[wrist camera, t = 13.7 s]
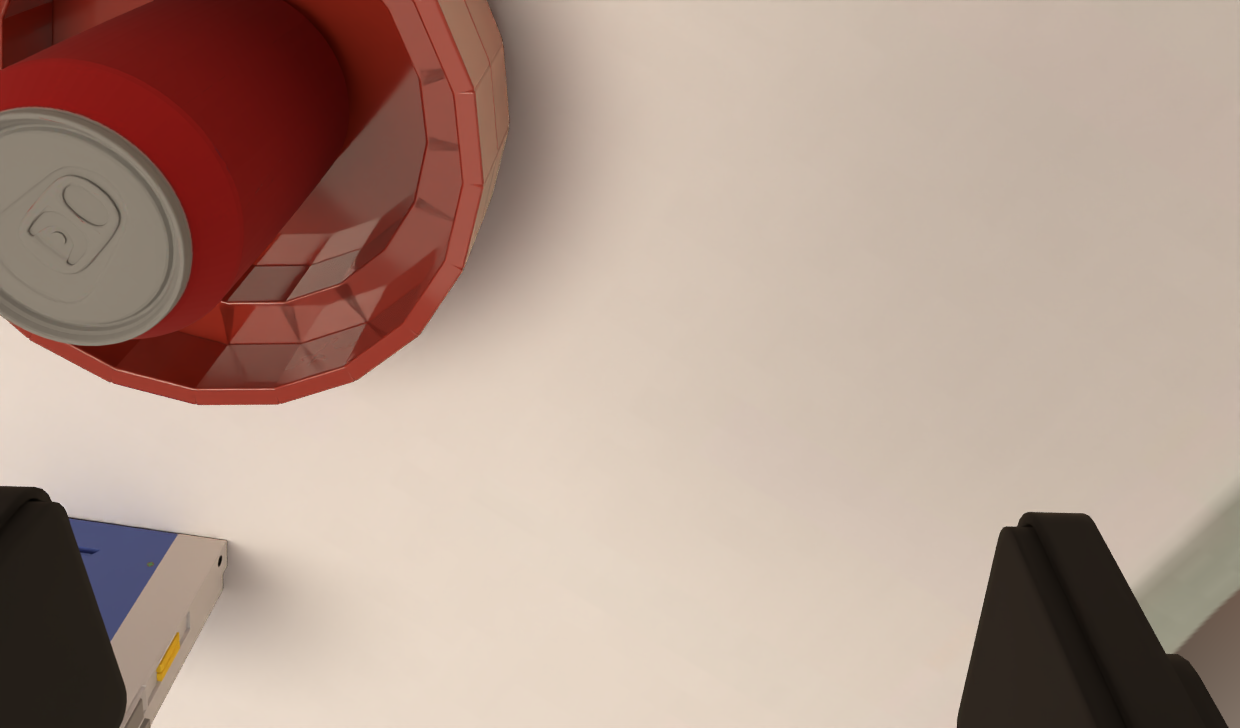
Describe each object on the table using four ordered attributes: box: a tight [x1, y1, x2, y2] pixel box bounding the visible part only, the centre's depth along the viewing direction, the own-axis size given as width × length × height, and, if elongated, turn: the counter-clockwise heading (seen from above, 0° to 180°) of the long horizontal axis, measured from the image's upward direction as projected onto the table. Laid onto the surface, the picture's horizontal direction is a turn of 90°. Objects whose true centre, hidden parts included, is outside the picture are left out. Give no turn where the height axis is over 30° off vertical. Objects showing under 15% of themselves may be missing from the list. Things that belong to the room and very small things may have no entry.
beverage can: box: [0, 0, 349, 346], centre depth 28 cm, size 7×7×12 cm
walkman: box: [69, 518, 227, 728], centre depth 38 cm, size 8×3×12 cm, turn 81°
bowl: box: [0, 0, 509, 405], centre depth 31 cm, size 16×16×6 cm
